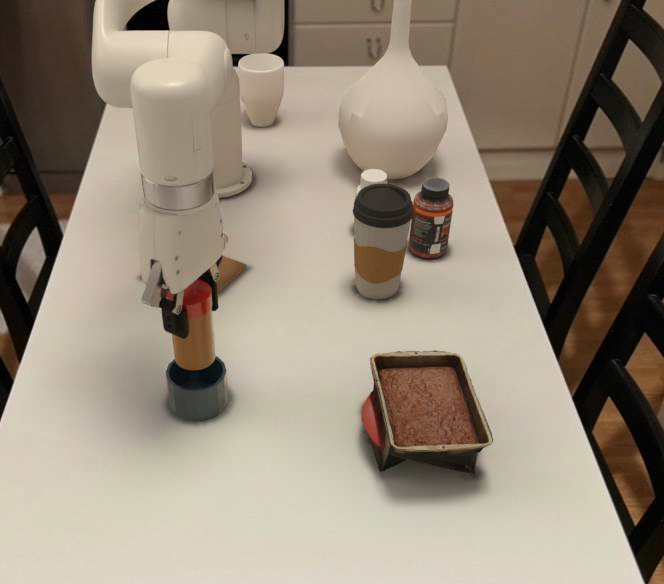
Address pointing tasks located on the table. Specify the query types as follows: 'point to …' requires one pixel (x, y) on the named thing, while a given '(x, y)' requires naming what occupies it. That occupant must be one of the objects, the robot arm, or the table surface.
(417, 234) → the supplement bottle
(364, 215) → the coffee cup
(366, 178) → the pill bottle
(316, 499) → the table surface
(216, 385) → the cup
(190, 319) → the jar
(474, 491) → the table surface
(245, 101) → the mug
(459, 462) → the baking dish
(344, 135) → the vase
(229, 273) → the wooden board
